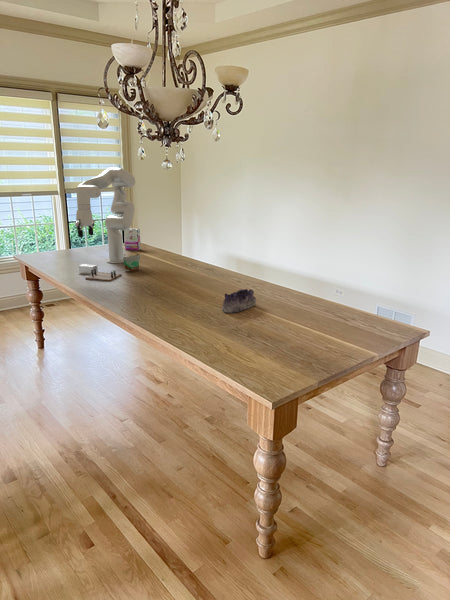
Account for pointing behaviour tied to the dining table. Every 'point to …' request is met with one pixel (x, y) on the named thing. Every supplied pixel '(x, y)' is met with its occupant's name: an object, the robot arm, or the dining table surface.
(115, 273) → the tray pins
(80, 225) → the robot arm
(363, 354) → the dining table surface
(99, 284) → the dining table surface
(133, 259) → the food container
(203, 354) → the dining table surface
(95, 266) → the light grey block
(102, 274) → the tray
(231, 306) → the geode
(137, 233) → the candy bar box
